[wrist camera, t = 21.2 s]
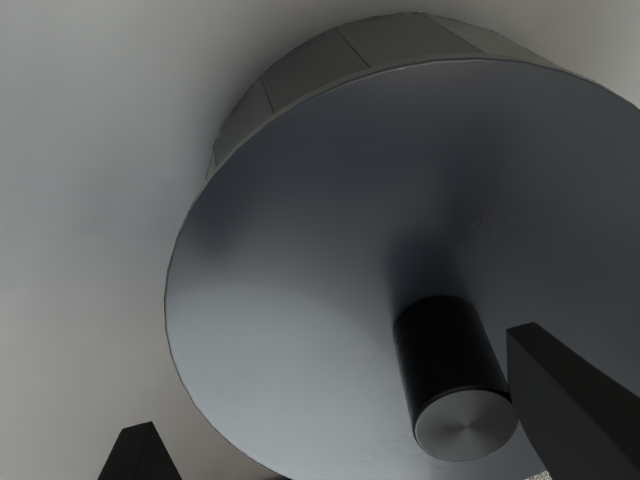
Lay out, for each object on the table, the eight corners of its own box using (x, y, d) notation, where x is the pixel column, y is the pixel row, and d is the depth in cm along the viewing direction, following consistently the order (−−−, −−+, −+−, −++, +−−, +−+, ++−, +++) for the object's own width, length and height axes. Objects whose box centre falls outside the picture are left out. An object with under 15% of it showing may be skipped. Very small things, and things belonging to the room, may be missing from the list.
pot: (178, 328, 24) (176, 448, 19) (244, -36, 18) (267, 4, 13) (478, 352, 28) (541, 457, 23) (621, 62, 21) (752, 120, 17)
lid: (81, 130, 14) (1, 222, 10) (714, -28, 13) (891, 9, 9) (256, 505, 22) (248, 641, 18) (672, 428, 20) (761, 557, 16)
